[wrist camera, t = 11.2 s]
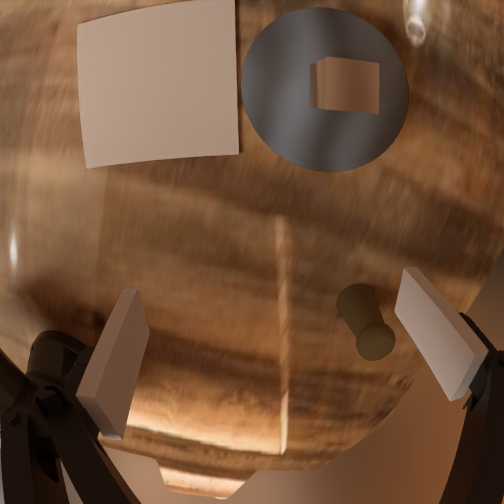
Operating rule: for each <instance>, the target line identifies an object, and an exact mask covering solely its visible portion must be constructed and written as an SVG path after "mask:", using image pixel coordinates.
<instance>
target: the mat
mask: <svg viewBox="0 0 504 504" xmlns="http://www.w3.org/2000/svg"><path fill="white" fill-rule="evenodd" d="M77 65H78V90H79V106H80V118H81V129H82V138H83V147H84V154H85V162H86V169H87V168H94V167H100V166H108V165H115V164H123V163H132V162H141V161H150V160H161V159H172V158H184V157H198V156H215V155H236V154H239V140H238V108H237V74H236V36H235V0H194V1H185V2H177V3H170V4H163V5H157V6H152V7H146V8H141V9H136V10H131V11H127V12H123V13H118V14H114V15H110V16H106V17H103V18H99V19H96V20H92V21H89V22H85V23H82V24H79V25H78V32H77Z"/></svg>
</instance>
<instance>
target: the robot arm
mask: <svg viewBox="0 0 504 504" xmlns="http://www.w3.org/2000/svg"><path fill="white" fill-rule="evenodd" d="M394 312H395V314H396V315H397V317H398V318H399V320H400V321H401V323H402V324H403V326H404V327H405V329H406V330H407V332H408V333H409V335H410V336H411V338H412V339H413V341H414V343H415V344H416V346H417V347H418V349H419V350H420V352H421V354H422V355H423V357H424V359H425V360H426V362H427V363H428V365H429V367H430V368H431V370H432V372H433V373H434V375H435V376H436V378H437V380H438V382H439V383H440V385H441V387H442V388H443V390H444V392H445V394H446V395H447V397H448V399H449V400H450V401H453V400H455V399H458V398H461V397H463V396H464V394H465V393H466V391H467V389H468V388H470V390H471V391H472V393H471V395H470V397H469V398H468V400H467V402H466V403H465V405H464V407H463V409H465V408H466V406H467V405H468V407H467V412H466V417H465V421H464V425H463V429H462V433H461V437H460V441H459V445H458V449H457V452H456V456H455V459H454V462H453V466H452V469H451V472H450V475H449V478H448V481H447V484H446V486H445V489H444V492H443V495H442V498H441V500H440V502H439V504H501V503H502V499H503V495H504V351H501V350H500V351H497V350H496V349H495V348H494V346H493V345H492V344H491V342H490V341H489V340H488V339H487V337H486V336H485V335H484V334H483V333H482V332H481V330H480V329H479V328H478V327H476V324H475V323H474V322H473V321H472V320H471V318H469V317H468V316H466V315H465V314H463V313H462V312H461V313H458V312H457V311H456V310H455V309H454V308H453V307H452V306H451V304H450V303H449V302H448V301H447V300H446V299H445V298H444V296H443V295H442V294H441V293H440V292H439V291H438V290H437V289H436V288H435V286H434V285H433V284H432V283H431V282H430V281H429V280H428V279H427V278H426V277H425V276H424V275H423V274H422V273H421V271H420V270H419V269H418V268H417V267H407V268H404V269H403V274H402V279H401V284H400V288H399V293H398V297H397V302H396V306H395V310H394ZM149 334H150V330H149V327H148V323H147V320H146V317H145V313H144V310H143V306H142V302H141V299H140V295H139V291H138V288H124V289H123V290H122V292H121V294H120V296H119V298H118V300H117V302H116V304H115V306H114V308H113V310H112V312H111V314H110V317H109V319H108V321H107V323H106V325H105V327H104V329H103V332H102V334H101V336H100V338H99V341H98V343H97V345H96V347H85V346H84V345H83V344H81V343H80V342H78V341H77V340H75V339H74V338H72V337H70V336H68V335H65V334H62V333H59V332H54V331H46V332H42V333H40V334H39V335H38V336H37V337H36V339H35V341H34V342H33V344H32V346H31V350H30V357H29V361H28V367H27V372H26V374H24V373H23V372H22V371H21V370H20V369H19V368H18V367H17V366H16V365H15V364H14V363H13V362H12V361H11V360H10V358H9V357H8V356H7V355H6V354H5V353H4V352H3V351H2V349H1V348H0V448H1V469H2V482H3V492H4V500H5V504H70V503H69V500H68V495H67V491H66V487H65V483H64V478H63V473H62V468H61V461H62V463H63V465H64V467H65V470H66V471H67V473H68V475H69V478H70V480H71V482H72V484H73V485H74V487H75V489H76V491H77V493H78V495H79V497H80V498H81V500H82V502H83V504H141V502H140V501H139V500H138V499H137V497H136V496H135V495H134V493H133V492H132V490H131V489H130V488H129V486H128V485H127V483H126V482H125V481H124V479H123V478H122V476H121V475H120V473H119V472H118V470H117V469H116V467H115V466H114V464H113V463H112V461H111V459H110V458H109V456H108V455H107V453H106V451H105V450H104V448H103V446H102V445H101V443H100V442H99V440H98V439H97V438H98V434H99V431H100V432H101V433H102V435H103V436H104V438H107V439H115V440H123V436H124V432H125V427H126V423H127V419H128V414H129V410H130V406H131V402H132V398H133V394H134V390H135V386H136V382H137V378H138V374H139V371H140V367H141V363H142V359H143V356H144V352H145V349H146V345H147V341H148V338H149Z"/></svg>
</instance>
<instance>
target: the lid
mask: <svg viewBox="0 0 504 504" xmlns="http://www.w3.org/2000/svg"><path fill="white" fill-rule="evenodd" d="M241 91H242V99H243V103H244V107H245V110H246V113H247V115H248V118H249V120H250V122H251V123H252V125H253V127H254V129H255V130H256V132H257V133H258V134H259V136H260V137H261V139H262V140H263V141H264V142H265V143H266V144H267V145H268V146H269V147H270V148H271V149H272V150H274V151H275V152H276V153H277V154H279V155H280V156H282V157H283V158H285V159H286V160H288V161H290V162H292V163H294V164H296V165H298V166H301V167H304V168H307V169H311V170H316V171H324V172H340V171H346V170H351V169H354V168H358V167H361V166H363V165H365V164H367V163H369V162H371V161H373V160H374V159H376V158H377V157H379V156H380V155H381V154H382V153H383V152H385V151H386V150H387V149H388V148H389V147H390V145H391V144H392V143H393V142H394V140H395V139H396V137H397V136H398V134H399V132H400V131H401V129H402V127H403V124H404V121H405V119H406V115H407V110H408V103H409V86H408V80H407V75H406V72H405V69H404V66H403V63H402V61H401V59H400V57H399V55H398V53H397V52H396V50H395V48H394V47H393V45H392V44H391V43H390V42H389V40H388V39H387V38H386V37H385V36H384V35H383V34H382V33H381V32H380V31H379V30H378V29H377V28H375V27H374V26H373V25H372V24H370V23H369V22H367V21H365V20H364V19H362V18H360V17H358V16H356V15H354V14H351V13H348V12H345V11H342V10H338V9H332V8H321V7H317V8H306V9H301V10H296V11H294V12H291V13H288V14H285V15H284V16H282V17H280V18H278V19H276V20H275V21H273V22H272V23H271V24H269V25H268V26H267V27H266V28H265V29H264V30H263V31H262V32H261V33H260V34H259V35H258V36H257V38H256V39H255V40H254V42H253V43H252V45H251V47H250V49H249V51H248V53H247V55H246V58H245V61H244V64H243V70H242V77H241Z"/></svg>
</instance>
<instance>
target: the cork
mask: <svg viewBox="0 0 504 504" xmlns="http://www.w3.org/2000/svg"><path fill="white" fill-rule="evenodd" d="M337 308H338V310H339V312H340V314H341V315H342V317H343V318H344V320H345V321H346V323H347V324H348V326H349V327H350V329H351V330H352V332H353V333H354V335H355V336H356V338H357V341H356V346H357V349H358V352H359V354H360V355H361V356H362V357H363V358H365V359H367V360H370V361H375V360H379V359H382V358H384V357H385V356H387V355H388V354H389V353H390V352H391V351H392V350H393V348H394V345H395V340H396V339H395V335H394V332H393V330H392V329H391V328H390V327H389V326H388V325H387V324H384V321H383V318H382V315H381V312H380V309H379V306H378V303H377V300H376V298H375V295H374V292H373V290H372V289H371V287H370V286H368V285H366V284H355V285H352V286H350V287H347V288H346V289H345V290H344V291H342V293H341V294H340V295H339V297H338V300H337Z"/></svg>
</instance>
